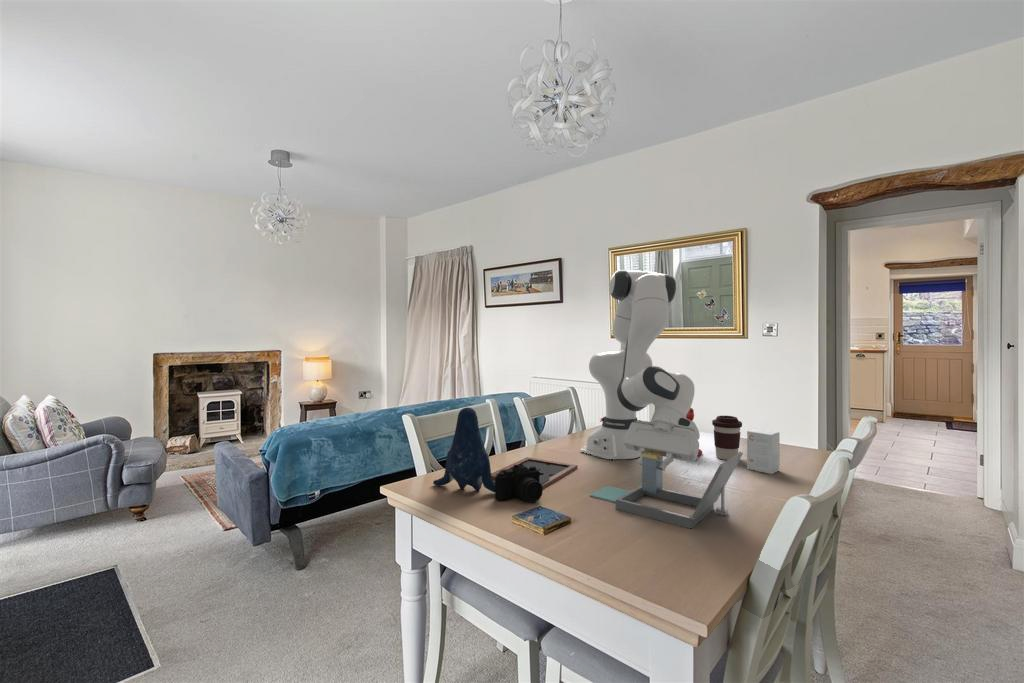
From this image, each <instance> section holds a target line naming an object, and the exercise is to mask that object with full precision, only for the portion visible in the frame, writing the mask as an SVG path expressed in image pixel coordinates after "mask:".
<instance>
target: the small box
mask: <svg viewBox="0 0 1024 683" xmlns="http://www.w3.org/2000/svg"><path fill="white" fill-rule="evenodd" d="M780 438H781V437H780V431H773V430H766V429H761V428H760V429H758V428H753V429H749V430H747V431H746V469H747V470H749V469H750V471H754V470H755V472H759V473H763V472H764V473H765V474H768V475H774V474H775V472H776V473H778V472H779V471H780V469H781V468H780V465H781V464H780V456H781V455H780V454H781V453H780V448H781V447H780ZM777 471H778V472H777Z"/></svg>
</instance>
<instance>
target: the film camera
mask: <svg viewBox="0 0 1024 683" xmlns="http://www.w3.org/2000/svg"><path fill="white" fill-rule="evenodd" d="M540 475H544V474H543V473H540V472H539V470H537V469H536V467H535V466H531V467H530V468H529V469H528V468H527V467H525V466H524V465H523V464H521V463H520V464H519V465H516V464H515V465H514V468H513V469H512V470H508V469H505V470H501V471H500V472H499V474H498V475H497V476H496V477H495V480H494V482H495V493H494V494H495V496H494V498H495V501H497V502H502V503H503V502H507V501H510V500H511V501H512V500H517V499H520V500H524V501H526V502H528V503H536V502H538V501H540V499H541V497H542V495H543V490H544V489H542V485H541V484H540Z"/></svg>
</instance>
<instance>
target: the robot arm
mask: <svg viewBox="0 0 1024 683" xmlns="http://www.w3.org/2000/svg"><path fill="white" fill-rule="evenodd" d="M608 286H609V292H610V293H609V294H610V296H611V297H612V298H613V299H615V300H617V301H618V302H617V306H616V310H615V314H614V321H613V325H612V331H611V332H612V336H613V337H614V339H615V340H616V341H618V343H620V348H619V351H618V350H617V351H616V350H615V351H612V350H611V351H602V352H599V353H596V354H595V353H594V354H593V355H592V357H591V358H590V360H589V364H588V370H589V373H590V375H591V377H592V378H593V379H594V380H596V381H597V382H598V384H599V385H600V387H601V388H602V390H603V393H604V394H603V395H604V398H605V416H603V417H602V418H600V419H599V422H600V423H601V422H602V423H601V426H599V427H598V428H597V429H595V430H593V432H591V433H590V434H589V435H588V437H587V440H586V445H584V446H582V447H581V448H580V453H583V452H584V453H583V454H586V453H587V455H590V454H591V456H594V457H598V458H603V459H606V460H609V459H610V460H611V459H613V460H631V459H636V458H639V457H640V458H639V460H638V465H639V466H640V467H642V454H643V453H645V452H647V451H654V452H659V453H663V457H665V459H663V462H662V461H660V462H659V465H658V468H659V470H663V471H664V472H665V471H666V469H667V467H668V466H669V465H671V464H672V463H673V462H674V459H676V460H680V461H687V462H690V463H691V462H695V461H696V460H697V458H698V457H699V456H698V451H699V449H700V442H699V439H700V432H699V428H698V426H697V425H696V423H695V422H694V420H693V421H691V420H689V419H686V415H687V413H688V412H689V410H690V408H692V404H693V401H694V397H695V384H694V382H693V380H692V379H691V378H690V377H689V376H688V375H685V374H683V373H680V372H676V373H672V372H669V371H666V370H665V369H663V368H662V367H659V366H657V365H653V361H652V358H651V356H650V355H649V354H648V353H647V352H648V350H649V348H650V347H651V345H652V344H653V343H654V342H655V340H656V339H657V338H658V337H659V336H661V334H662V333H663V332H664V330H665V329H666V328H667V326H668V323H669V316H670V308H669V307H670V306H669V304H670V303H671V302H672V301H673V300H674V299H675V295H676V292H677V282H676V280H675V278H674V277H673V276H672V275H670V274H667V273H658V272H655V271H648V270H643V271H642V270H627V269H618V270H616V271H615V272H614V273H613V274H612V276H611V277H610V280H609V284H608ZM652 404H653V406H654V407H655V408H654V409H655V410H654V411H653V415H652V416H651V419H650V421H647V420H639V419H638V417H637V412H640V411H642V410H644V409H645V408H646V407H648V406H650V405H652Z"/></svg>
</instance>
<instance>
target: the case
mask: <svg viewBox="0 0 1024 683" xmlns="http://www.w3.org/2000/svg"><path fill="white" fill-rule="evenodd" d="M743 455H744V453H743V452H741V451H738V453H737V454H736V455H734V456H733V457H731V458H730V459H728V460H724V462H723V463H721V464H720V465H718V467H717V469H716V471H715V473H714V475H713V476H712V479H711V480H710V482H709V484H708V486H707V488H706V490H705V492H704V494H703V495H702V496H697V495H692V494H688V493H683V492H679V491H674V490H669V489H667V488H666V489H665V488H662V490H661V491H660V492H658V493H657V494H654V493H650V492H646V491H642V484H641V485H639V486H637V487H635V488H634V489H632V490H629V491H630V492H628V493H627V494H625V495H623V496H621V497H619V498H618V499H616V503H615V510H619V511H622V512H627V513H630V514H633V515H637V516H641V517H644V516H645V518H648V517H649V518H648V519H652V518H653V519H652V520H656V519H657V521H659V520H660V522H663V521H664V523H667V522H668V524H671V523H672V524H671V525H675V526H678V525H680V526H679V527H682V526H683V527H682V528H686V527H687V529H690V528H692V527H693V526H694V527H695V526H696V525H697V524H698V522H699V521H700V520H701V519H702V520H703V519H705V518H706V517H707V516H708V515H709V514H710V513H711V512H712V511H713V509H714V510H715V514H716V513H717V514H716V515H719V514H721V515H720V516H723V515H726V516H727V515H729V508H725V505H726V504H725V502H726V501H725V499H726V498H725V494H726V493H725V490H726V489H725V488H726V485H727V483H728V482H729V480H730V478H731V476H732V474H733V473H734V471H735V470H736V467H737V466H738V464H739V461H740V460H741V458H742V456H743ZM644 494H645V495H644ZM642 495H643V496H648V495H650V496H649V497H653V496H654V497H653V498H657V497H658V499H661V498H662V500H665V499H667V500H666V501H670V500H671V501H670V502H674V501H676V502H675V503H678V502H680V503H679V504H683V503H685V504H684V505H687V504H688V506H691V505H693V506H692V507H695V506H697V507H696V508H695V509H694V511H693V512H692V513H691V514H689V515H685V514H682V513H681V514H680V513H678V512H674V511H669V510H666V509H661V508H657V507H652V506H650V505H644V504H641V503H638V502H637V503H636V502H634V500H635V501H636V500H638V499H640V498H641V497H643V496H642ZM639 497H640V498H639ZM637 498H638V499H637ZM719 498H720V506H718V507H716V508H714V506H715V503H716V502H717V501H718V499H719ZM632 501H633V502H632ZM707 514H708V515H707ZM706 515H707V516H706ZM705 516H706V517H705ZM702 520H701V521H702ZM701 521H700V522H701ZM700 522H699V523H700ZM694 527H693V528H694ZM693 528H692V529H693Z"/></svg>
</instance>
